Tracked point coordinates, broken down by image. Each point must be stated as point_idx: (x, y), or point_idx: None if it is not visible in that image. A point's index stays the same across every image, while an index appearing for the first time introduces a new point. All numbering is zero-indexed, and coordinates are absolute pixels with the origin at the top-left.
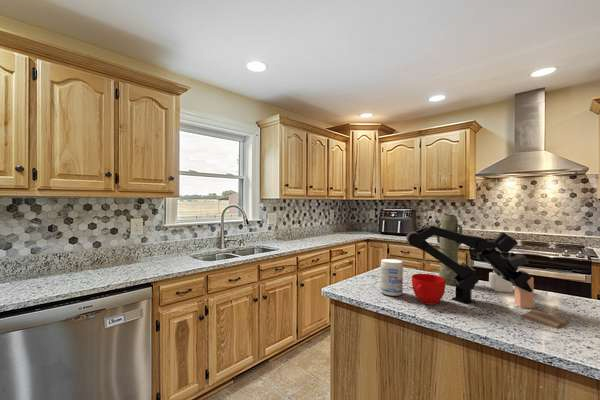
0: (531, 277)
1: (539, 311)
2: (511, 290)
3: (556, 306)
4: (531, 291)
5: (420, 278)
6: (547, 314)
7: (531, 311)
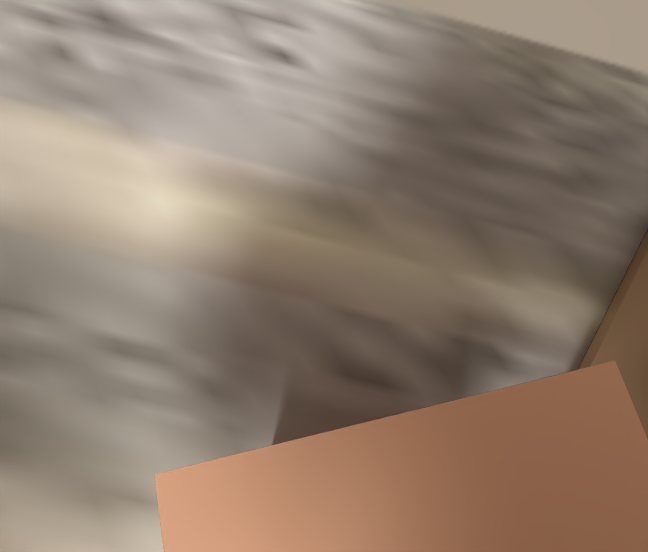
0: (590, 425)
1: None
2: None
3: (219, 176)
4: None
5: None
6: (638, 340)
7: None
